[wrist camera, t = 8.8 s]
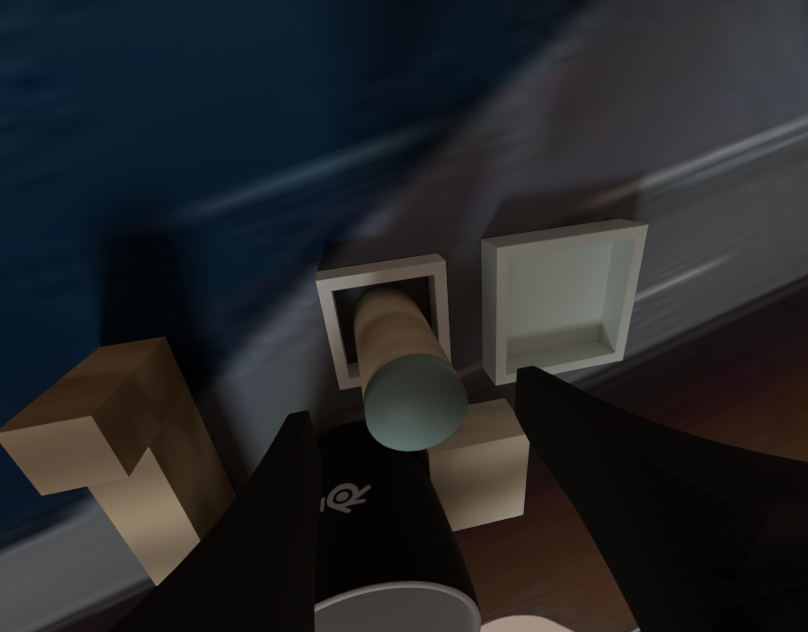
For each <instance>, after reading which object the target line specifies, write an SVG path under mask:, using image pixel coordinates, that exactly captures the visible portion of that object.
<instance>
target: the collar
mask: <svg viewBox="0 0 808 632" xmlns="http://www.w3.org/2000/svg"><path fill="white" fill-rule="evenodd" d="M423 276H428V285H429V298H430V311H431V324H432V331H433V333H434V335H435V337H436V338H437V340H438V342H439V344H440V345H441V347H442V349H443V350H444V352H445V354H446V356H447V357H448V359H449V361H450V363H451V351H450V332H449V314H448V295H447V276H446V261H445V260H444V259H443V258H442V257H441V256H440V255H439V254H438V253H436V254H429V255H423V256H416V257H410V258H403V259H396V260H390V261H383V262H377V263H370V264H364V265H357V266H350V267H344V268H337V269H331V270H324V271H318V272H317V276H316V284H317V289H318V293H319V298H320V302H321V307H322V311H323V316H324V320H325V325H326V329H327V334H328V338H329V343H330V347H331V352H332V357H333V361H334V366H335V370H336V375H337V379H338V384H339V388H340V390H344V389H349V388H354V387H359V386H361V379H360V371H359V363H358V362H356V363H351V364H348V361H347V356H346V351H345V346H344V341H343V336H342V331H341V326H340V321H339V316H338V311H337V306H336V301H335V296H334V291H335V290H341V289H347V288H354V287H360V286H366V285H373V284H379V283H385V282H391V281H398V280H404V279H410V278H416V277H423Z"/></svg>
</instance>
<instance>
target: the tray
mask: <svg viewBox="0 0 808 632" xmlns="http://www.w3.org/2000/svg"><path fill="white" fill-rule="evenodd" d="M647 229H648V224H643V223H638V222H634V221H629V220H624V219H612V220H606V221H599V222H592V223H585V224H579V225H572V226H565V227H559V228H552V229H545V230H539V231H532V232H525V233H519V234H512V235H505V236H498V237H492V238H485V239H481V272H482V367H483V369H484V370H485V372H486V373H487V374H488V376H489V377H490V379H491V380H492V381H493V383H494V384H495V386H498V385H503V384H508V383H513V382H516V376H517V369H518V368H523V367H528V366H535V367H538V368H540V369H542V370H544V371H546V372H548V373H550V374H557V373H562V372H566V371H571V370H576V369H581V368H586V367H591V366H596V365H601V364H606V363H610V362H615V361H620V360H623V355H624V350H625V345H626V340H627V334H628V329H629V324H630V319H631V313H632V308H633V303H634V298H635V292H636V287H637V282H638V277H639V271H640V266H641V261H642V256H643V250H644V245H645V240H646V235H647Z"/></svg>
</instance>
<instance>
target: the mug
mask: <svg viewBox="0 0 808 632" xmlns="http://www.w3.org/2000/svg"><path fill="white" fill-rule="evenodd" d="M317 443H318V447H319V451H320V454H321V468H322V492H321V504H320V516H319V527H318V538H317V549H316V560H315V632H480V629H481V614H480V609H479V605H478V601H477V598H476V595H475V591H474V588H473V585H472V582H471V579H470V576H469V573H468V571H467V568H466V565H465V562H464V560H463V557H462V554H461V552H460V549H459V546H458V544H457V541H456V539H455V536H454V534H453V531H452V529H451V526H450V524H449V521H448V519H447V516H446V514H445V512H444V509H443V507H442V505H441V502H440V500H439V498H438V495H437V493H436V491H435V489H434V487H433V484H432V482H431V480H430V478H429V476H428V474H427V472H426V470H425V468H424V467H423V465H422V463H421V461H420V459H419V458H418V456H417V454H416V453H415V451H400V450H395V449H391V448H389V447H386V446H385V445H383V444H381V443H380V442H378V441H377V440H376V439H375V438H374V437H373V436H372V434H371V433H370V431H369V429H368V427H367V423H366V422H354V423H349V424H346V425H342V426H340V427H337V428H335V429H333V430H331V431H330V432H328V433H327V434H325V435H324V436H323V437H322V438H320V439H319V440H318V441H317Z"/></svg>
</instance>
